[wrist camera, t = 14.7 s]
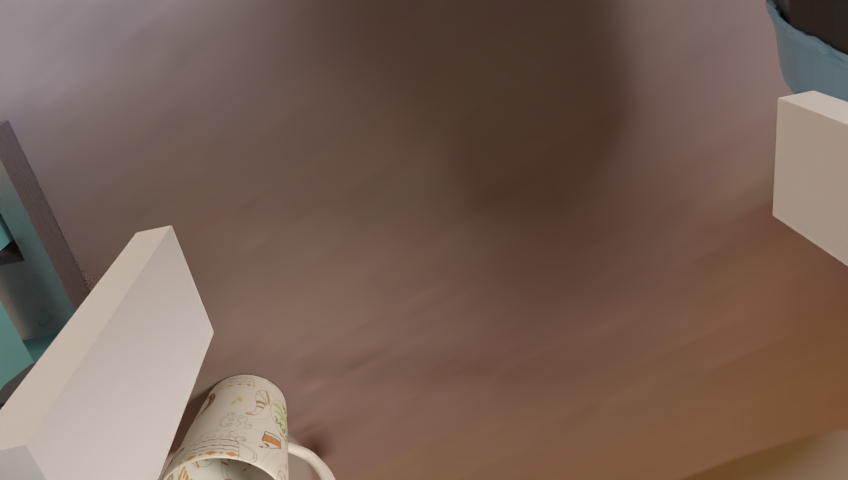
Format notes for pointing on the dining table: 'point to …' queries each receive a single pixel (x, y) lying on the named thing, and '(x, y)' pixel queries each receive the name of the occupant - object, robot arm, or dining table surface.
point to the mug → (240, 436)
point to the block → (33, 251)
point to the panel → (16, 335)
